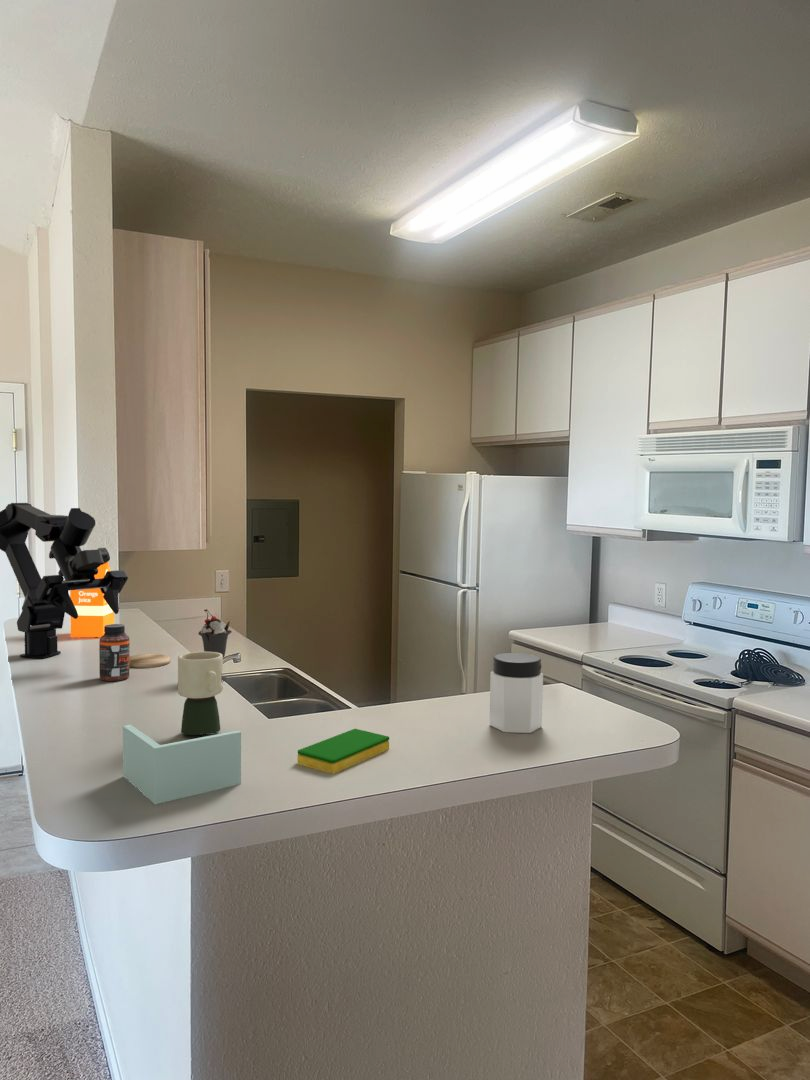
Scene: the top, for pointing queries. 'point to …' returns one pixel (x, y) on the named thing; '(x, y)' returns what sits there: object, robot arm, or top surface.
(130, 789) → the top surface
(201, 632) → the sundae
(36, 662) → the top surface
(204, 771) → the l-shaped corner panel
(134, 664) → the plate
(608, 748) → the top surface
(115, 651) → the supplement bottle
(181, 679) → the character mug
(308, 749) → the dish sponge
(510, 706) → the jar
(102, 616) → the orange juice
